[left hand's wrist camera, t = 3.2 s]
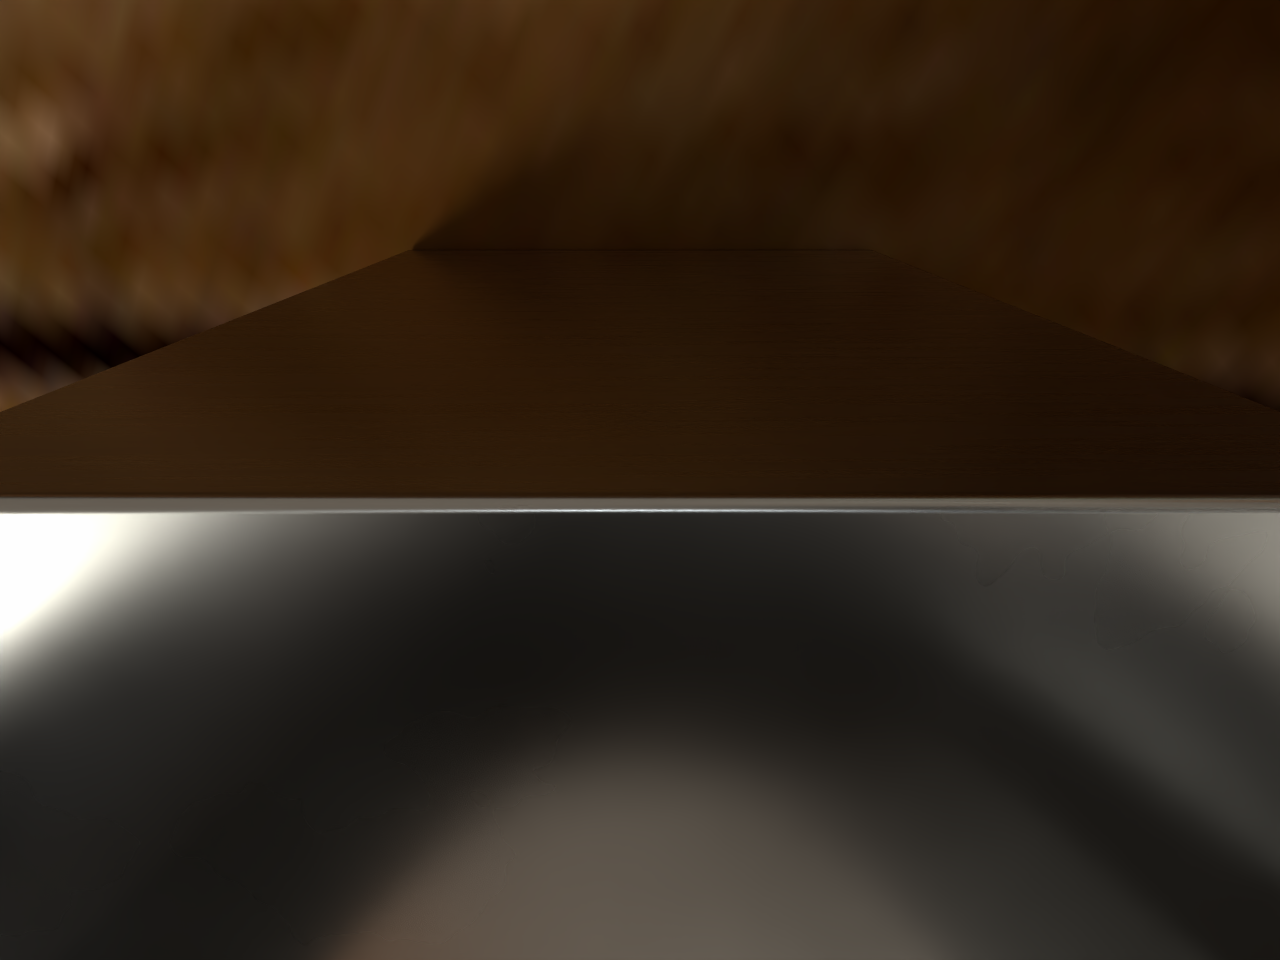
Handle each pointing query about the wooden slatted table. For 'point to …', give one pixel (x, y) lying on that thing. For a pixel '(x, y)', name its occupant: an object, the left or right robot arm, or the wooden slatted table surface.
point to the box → (640, 628)
